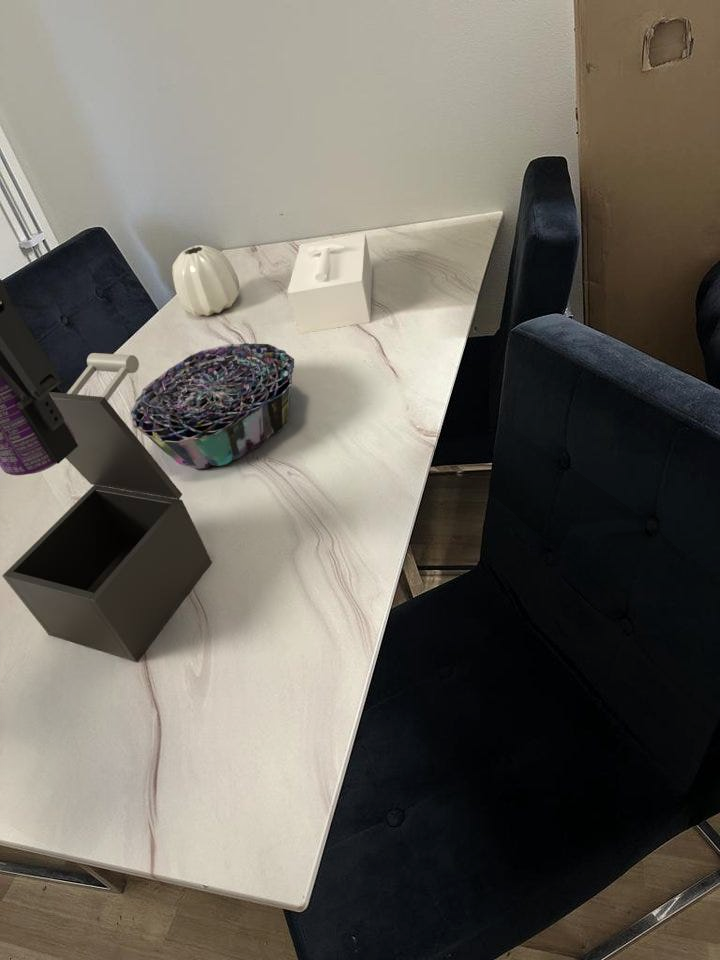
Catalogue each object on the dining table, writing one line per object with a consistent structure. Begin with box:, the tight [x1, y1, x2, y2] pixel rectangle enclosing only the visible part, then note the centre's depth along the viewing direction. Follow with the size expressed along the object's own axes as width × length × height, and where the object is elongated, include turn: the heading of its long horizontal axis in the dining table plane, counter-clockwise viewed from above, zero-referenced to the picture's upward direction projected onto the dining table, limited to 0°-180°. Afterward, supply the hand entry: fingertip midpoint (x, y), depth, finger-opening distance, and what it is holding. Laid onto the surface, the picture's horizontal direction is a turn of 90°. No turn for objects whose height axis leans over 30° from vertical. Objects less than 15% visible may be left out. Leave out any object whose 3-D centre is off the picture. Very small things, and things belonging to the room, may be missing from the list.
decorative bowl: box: [130, 342, 295, 471], centre depth 107 cm, size 26×28×10 cm
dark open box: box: [1, 485, 213, 663], centre depth 80 cm, size 16×14×11 cm
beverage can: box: [0, 377, 75, 476], centre depth 61 cm, size 7×7×12 cm
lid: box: [50, 352, 183, 500], centre depth 78 cm, size 17×14×10 cm
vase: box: [171, 244, 240, 317], centre depth 145 cm, size 14×14×13 cm
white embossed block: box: [286, 232, 373, 335], centre depth 136 cm, size 14×25×11 cm, turn 178°
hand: (37, 449), depth 64 cm, fingers closed on beverage can, 7 cm apart
